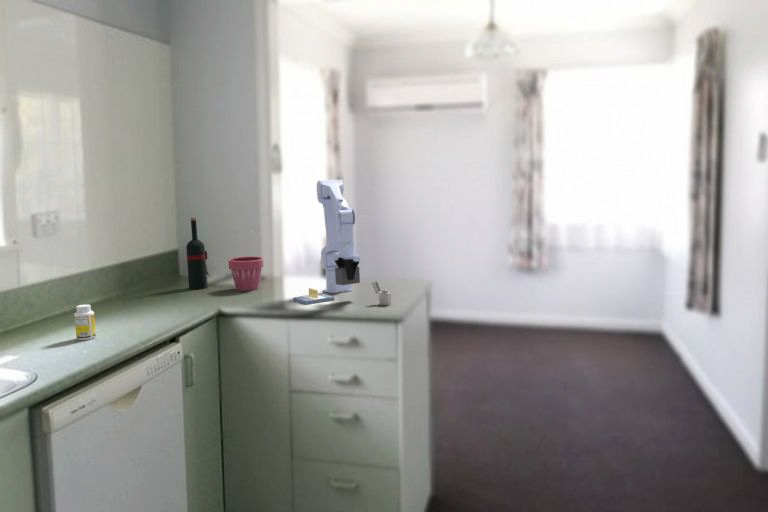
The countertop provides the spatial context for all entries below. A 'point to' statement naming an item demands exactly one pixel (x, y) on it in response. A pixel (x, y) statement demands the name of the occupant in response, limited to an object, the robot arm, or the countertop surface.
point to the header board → (313, 297)
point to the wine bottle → (196, 260)
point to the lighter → (382, 294)
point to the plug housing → (342, 276)
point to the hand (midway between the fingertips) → (347, 279)
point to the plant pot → (246, 272)
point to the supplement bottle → (85, 323)
